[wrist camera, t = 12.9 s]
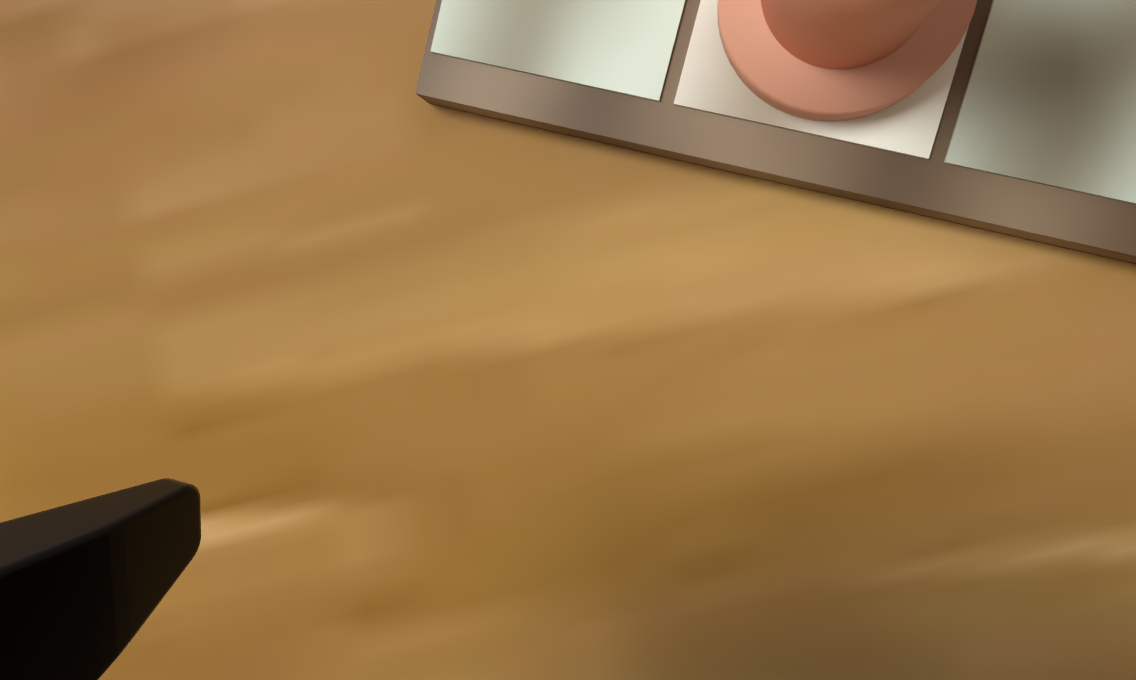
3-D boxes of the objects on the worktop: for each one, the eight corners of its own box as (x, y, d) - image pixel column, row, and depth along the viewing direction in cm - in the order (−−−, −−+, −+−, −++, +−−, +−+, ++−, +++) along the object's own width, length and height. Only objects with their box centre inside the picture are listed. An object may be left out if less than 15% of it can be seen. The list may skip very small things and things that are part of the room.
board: (1659, -34, 16) (1728, -58, 15) (1509, 348, 17) (1564, 352, 16) (499, -212, 20) (489, -240, 19) (428, 102, 21) (414, 92, 20)
